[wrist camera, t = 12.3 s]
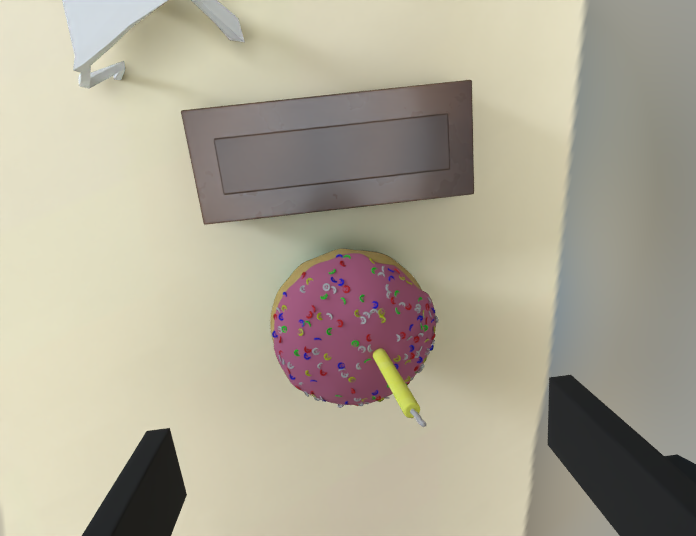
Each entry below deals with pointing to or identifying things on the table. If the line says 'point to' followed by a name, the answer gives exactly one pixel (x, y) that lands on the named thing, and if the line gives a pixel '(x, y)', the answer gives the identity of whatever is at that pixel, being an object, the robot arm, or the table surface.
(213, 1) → the origami figure
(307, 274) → the cupcake
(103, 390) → the table surface
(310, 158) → the brown rectangular panel
